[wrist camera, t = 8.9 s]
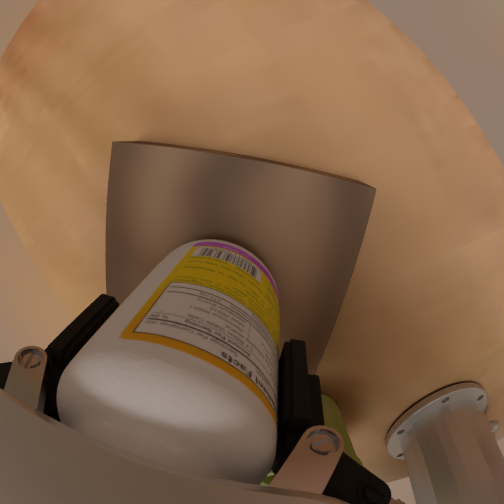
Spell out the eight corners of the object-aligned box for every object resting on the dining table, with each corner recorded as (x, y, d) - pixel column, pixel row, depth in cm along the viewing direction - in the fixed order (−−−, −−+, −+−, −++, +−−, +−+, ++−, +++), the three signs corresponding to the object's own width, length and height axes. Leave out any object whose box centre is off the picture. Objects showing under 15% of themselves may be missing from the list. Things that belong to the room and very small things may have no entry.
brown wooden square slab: (358, 180, 17) (376, 189, 14) (303, 362, 22) (305, 394, 19) (139, 141, 17) (112, 141, 14) (130, 324, 22) (111, 349, 19)
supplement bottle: (190, 356, 17) (113, 551, 5) (137, 259, 15) (-38, 436, 3) (297, 329, 16) (302, 576, 4) (253, 215, 14) (143, 503, 2)
